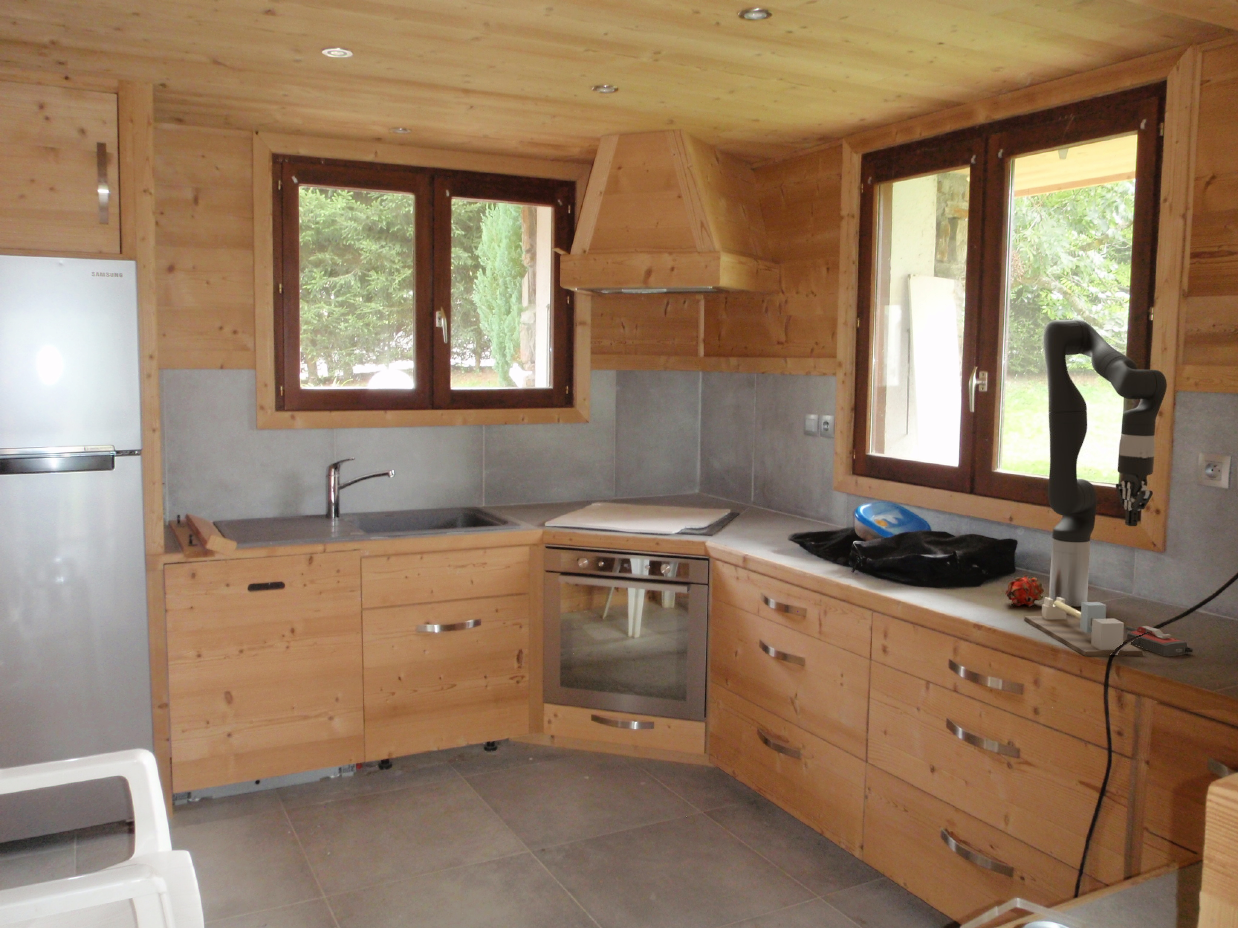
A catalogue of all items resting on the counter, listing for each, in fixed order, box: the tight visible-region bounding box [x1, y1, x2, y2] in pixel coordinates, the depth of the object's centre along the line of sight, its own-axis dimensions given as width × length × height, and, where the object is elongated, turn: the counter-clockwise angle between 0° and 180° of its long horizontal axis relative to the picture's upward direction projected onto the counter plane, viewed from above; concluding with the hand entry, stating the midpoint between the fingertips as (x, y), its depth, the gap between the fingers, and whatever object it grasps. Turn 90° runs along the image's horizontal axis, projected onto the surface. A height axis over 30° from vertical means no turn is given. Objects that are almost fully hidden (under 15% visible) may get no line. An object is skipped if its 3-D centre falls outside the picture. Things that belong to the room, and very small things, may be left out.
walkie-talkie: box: [1124, 625, 1194, 657], centre depth 228 cm, size 9×4×20 cm
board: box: [1023, 615, 1144, 657], centre depth 233 cm, size 30×13×1 cm, turn 2°
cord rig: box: [1041, 596, 1125, 650], centre depth 233 cm, size 28×5×6 cm, turn 2°
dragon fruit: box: [1004, 574, 1044, 608], centre depth 263 cm, size 8×8×12 cm
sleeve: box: [1080, 601, 1107, 633], centre depth 227 cm, size 3×4×6 cm
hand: (1131, 525), depth 238 cm, fingers closed
